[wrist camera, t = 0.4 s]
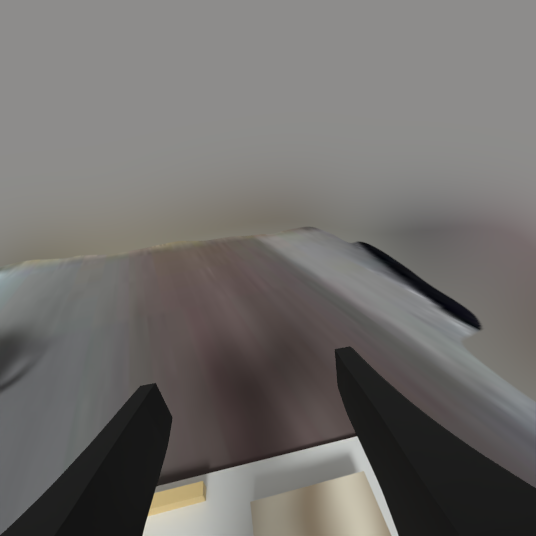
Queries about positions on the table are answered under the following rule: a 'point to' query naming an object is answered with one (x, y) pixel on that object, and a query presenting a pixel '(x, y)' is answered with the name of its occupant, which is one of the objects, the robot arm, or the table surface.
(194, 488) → the board
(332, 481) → the beige flat block
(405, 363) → the table surface
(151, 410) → the robot arm
